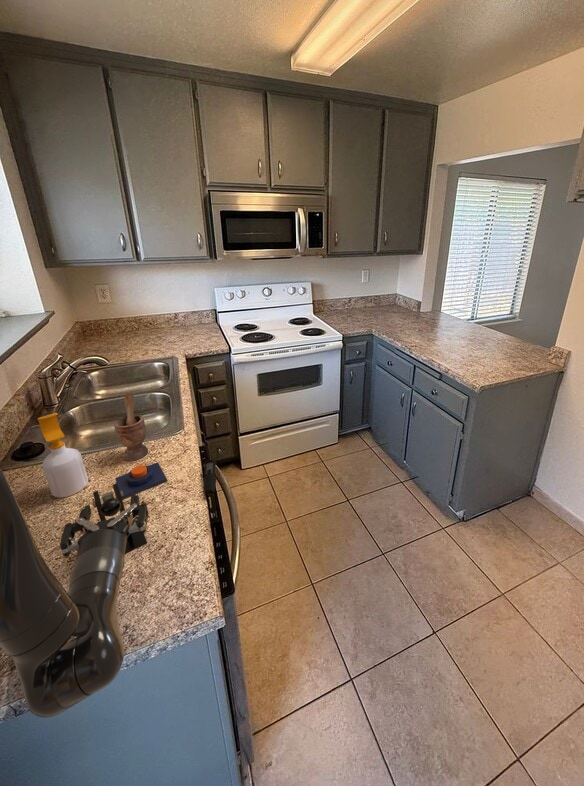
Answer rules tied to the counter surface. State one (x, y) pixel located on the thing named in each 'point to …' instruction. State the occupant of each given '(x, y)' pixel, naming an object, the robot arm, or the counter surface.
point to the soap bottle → (61, 461)
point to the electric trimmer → (209, 476)
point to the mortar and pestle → (131, 431)
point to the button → (139, 471)
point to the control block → (141, 481)
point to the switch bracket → (134, 538)
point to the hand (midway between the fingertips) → (111, 502)
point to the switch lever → (110, 505)
